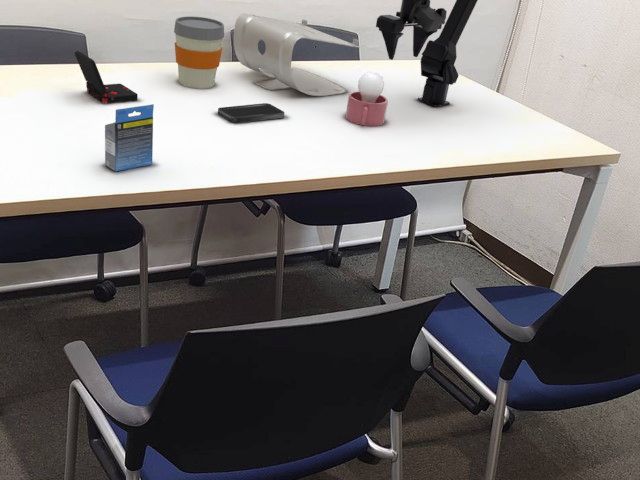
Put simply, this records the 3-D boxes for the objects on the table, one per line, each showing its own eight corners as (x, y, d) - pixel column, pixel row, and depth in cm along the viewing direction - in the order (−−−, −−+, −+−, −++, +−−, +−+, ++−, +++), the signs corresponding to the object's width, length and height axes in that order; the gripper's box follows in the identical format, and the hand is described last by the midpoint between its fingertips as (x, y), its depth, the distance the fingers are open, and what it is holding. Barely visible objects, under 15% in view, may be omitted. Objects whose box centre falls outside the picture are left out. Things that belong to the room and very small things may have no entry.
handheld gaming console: (138, 100, 209) (139, 58, 203) (92, 105, 202) (91, 61, 197) (120, 89, 215) (120, 47, 209) (74, 93, 208) (73, 49, 203)
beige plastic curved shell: (228, 73, 238) (232, 13, 229) (294, 66, 252) (300, 9, 243) (288, 101, 223) (295, 38, 214) (355, 92, 236) (364, 32, 228)
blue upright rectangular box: (141, 158, 178) (143, 98, 172) (153, 165, 176) (154, 104, 169) (104, 165, 173) (104, 103, 166) (115, 172, 171) (115, 109, 164)
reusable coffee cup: (230, 85, 229) (234, 25, 220) (200, 93, 219) (204, 31, 211) (192, 73, 234) (195, 14, 225) (161, 81, 224) (164, 19, 216)
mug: (347, 110, 222) (350, 89, 219) (385, 117, 221) (389, 95, 218) (342, 125, 212) (345, 103, 209) (382, 132, 211) (386, 109, 208)
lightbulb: (370, 123, 214) (378, 77, 208) (348, 115, 217) (355, 70, 211) (383, 118, 219) (391, 73, 212) (361, 111, 221) (368, 66, 215)
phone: (216, 108, 207) (268, 102, 215) (215, 112, 208) (267, 107, 216) (234, 118, 202) (286, 112, 210) (233, 123, 203) (286, 117, 211)
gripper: (414, 0, 202) (401, 69, 210) (465, -2, 213) (451, 64, 222) (380, -10, 208) (369, 57, 217) (431, -12, 220) (418, 52, 228)
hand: (403, 58), depth 221 cm, fingers open, 9 cm apart
